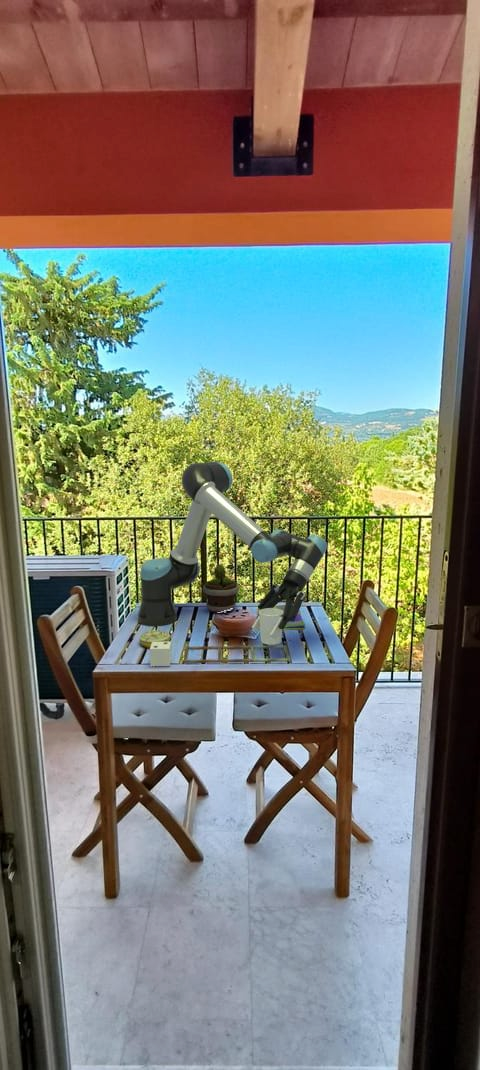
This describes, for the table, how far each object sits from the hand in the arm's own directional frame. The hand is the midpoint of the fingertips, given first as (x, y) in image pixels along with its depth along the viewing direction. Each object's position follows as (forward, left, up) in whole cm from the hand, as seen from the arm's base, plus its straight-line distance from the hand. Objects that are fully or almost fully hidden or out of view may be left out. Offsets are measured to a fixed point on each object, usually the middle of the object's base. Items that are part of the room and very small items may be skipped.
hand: (263, 633), depth 173 cm
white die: (-33, -4, -8) cm, 34 cm away
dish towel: (+10, +37, -9) cm, 40 cm away
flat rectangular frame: (-9, +2, -8) cm, 12 cm away
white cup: (+3, +2, -4) cm, 5 cm away
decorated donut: (-37, +13, -9) cm, 40 cm away
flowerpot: (-14, +49, -8) cm, 52 cm away
